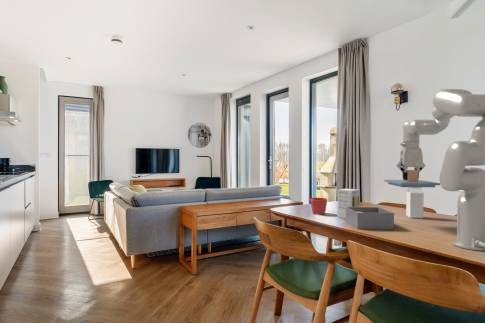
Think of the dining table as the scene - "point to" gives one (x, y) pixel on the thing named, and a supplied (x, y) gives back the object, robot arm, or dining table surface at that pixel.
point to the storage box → (369, 218)
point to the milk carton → (414, 202)
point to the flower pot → (318, 205)
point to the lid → (412, 181)
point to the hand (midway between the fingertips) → (410, 179)
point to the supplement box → (347, 200)
